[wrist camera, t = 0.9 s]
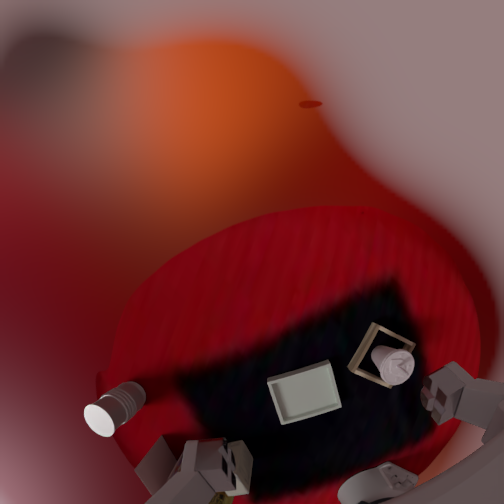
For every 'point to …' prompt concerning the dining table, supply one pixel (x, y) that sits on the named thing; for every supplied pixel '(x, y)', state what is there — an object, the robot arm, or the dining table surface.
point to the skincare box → (241, 468)
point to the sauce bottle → (221, 498)
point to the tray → (304, 392)
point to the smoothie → (393, 364)
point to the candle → (115, 408)
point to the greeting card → (158, 466)
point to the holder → (364, 347)
